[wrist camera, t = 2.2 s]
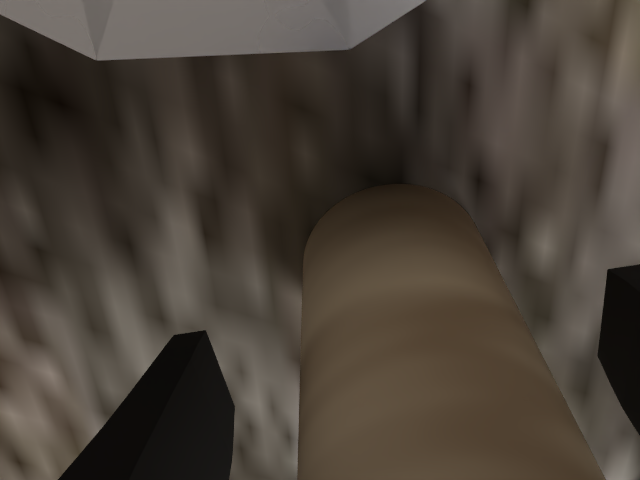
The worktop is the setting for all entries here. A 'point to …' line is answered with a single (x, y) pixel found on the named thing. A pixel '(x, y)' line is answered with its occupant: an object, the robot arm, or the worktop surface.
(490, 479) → the tan cylinder
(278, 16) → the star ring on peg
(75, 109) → the worktop surface
